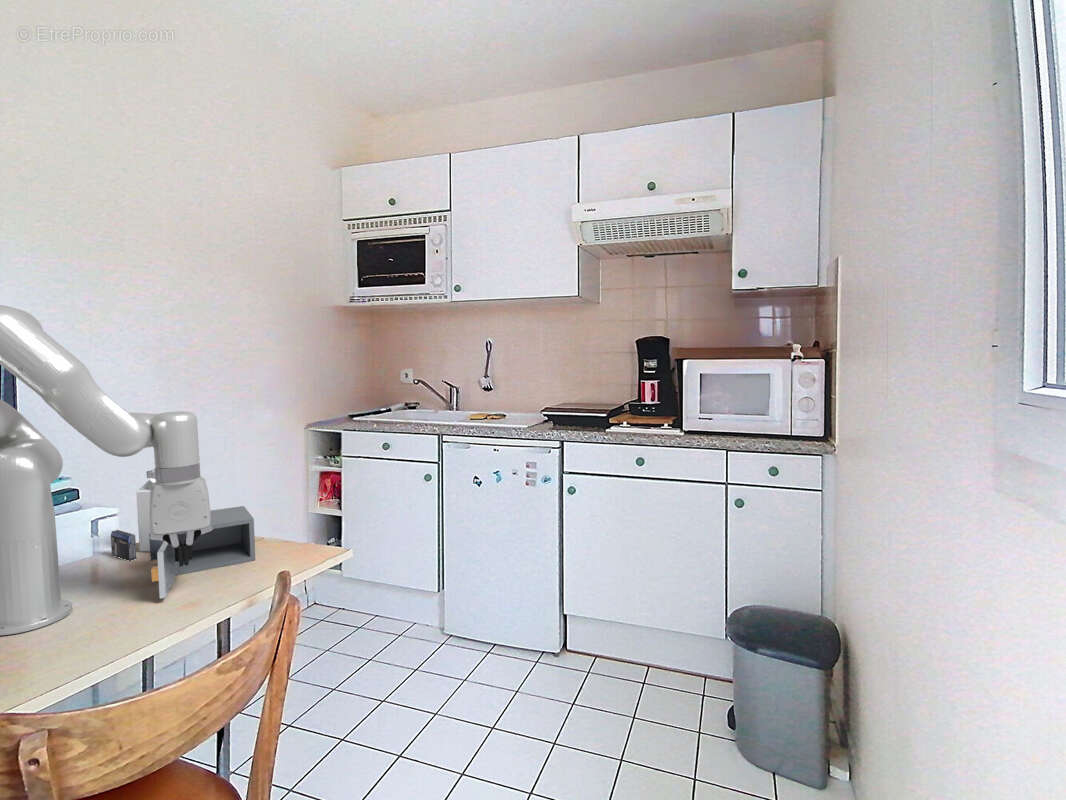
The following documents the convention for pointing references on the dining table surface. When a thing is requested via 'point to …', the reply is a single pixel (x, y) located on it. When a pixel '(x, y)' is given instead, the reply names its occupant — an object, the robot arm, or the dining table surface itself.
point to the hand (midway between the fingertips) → (184, 563)
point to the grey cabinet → (218, 542)
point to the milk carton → (144, 514)
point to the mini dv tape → (123, 545)
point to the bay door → (165, 569)
